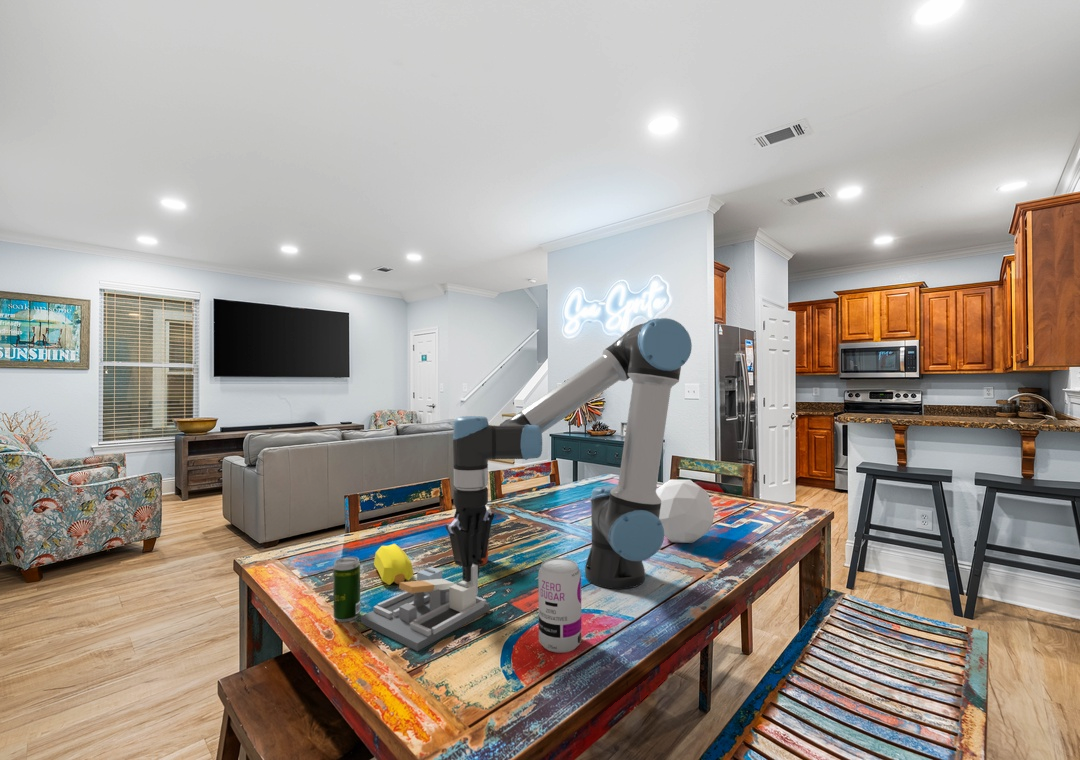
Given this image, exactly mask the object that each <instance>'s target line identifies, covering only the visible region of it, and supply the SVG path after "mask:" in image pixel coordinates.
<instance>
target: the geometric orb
mask: <svg viewBox="0 0 1080 760" xmlns="http://www.w3.org/2000/svg"><path fill="white" fill-rule="evenodd" d="M656 494H657V495H658V497H659V498H660V499H661V508H660V515H659V519H660V521H661V523H662V525H663V528H664V538H666V539H667V540H669V541H670V542H671V543H685V544H686V543H689V544H693V543H694V542H696V541H697V540H699V539H700V538H702V537H703V536H705V535H706V534H707V533H709V532H710V530H711V528H712V525H713V524H714V518H715V509H714V507H713V503H712V501H711V498H710V496H709V495H710V494H709V493H708V491H706V490H705V489H704V488H703V487H701V486H700V485H698V484H697V483H696V482H693V481H692V479H673V478H672V479H669V480H667V481H666V482H664V484H662V485H660V486H659V487H657V488H656Z"/></svg>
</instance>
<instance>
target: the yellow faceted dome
mask: <svg viewBox="0 0 1080 760" xmlns="http://www.w3.org/2000/svg"><path fill="white" fill-rule="evenodd" d="M373 565H374V567H375V568H376V570H377V572H378V574H379V576H380V579H381V581H382V582H383V583H385V584H386V585H387V586H390V585H391V584H393V583H395V584H397V585H399V584H400V582H410V580H411V579H412V578H413V576H414V570H413V564H412V561H411V560H410V558H409V556H408V555H407V553H406V552H405V551H404V550H403V549H402V548H401V547H400V546H398V545H397V544H396V543H392V544H389V545H381V546H380V547H379V548H378V549H377V550H376V551H375V556H374V561H373Z"/></svg>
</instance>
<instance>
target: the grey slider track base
mask: <svg viewBox="0 0 1080 760" xmlns="http://www.w3.org/2000/svg"><path fill="white" fill-rule="evenodd" d="M490 604H491V603H490V602H487V599H485V598H482V597H479V596H478V595H476V604H475V605H473V606H471V607H469V608H468V609H466V610H464V611H462V612H459V611H456V610H454V609H451V608H449V589H445V590H439V589H438V590H436V591H434V592H431V593H430V594H428V595H425V594H424V592H419V593H409V592H406V591H404V592H401V593H400V594H399V593H398V594H396V595H394V596H392V597H390V598H387V599H386V600H383V601H380V602H378V603H377V604H376V605H374V606H373V608H372V611H370V612H367V613H364V614H362V615H360V624H361V625H363V626H365V627H367V628H368V629H369V628H370V629H371V630H373V631H375V632H378V633H380V634H381V635H384V636H386V637H388V638H389V639H392V640H393V641H396V642H398V643H400V644H402V645H404V646H406V647H408V648H410V649H412V650H413V651H416V652H420V651H421V650H422V649H424V648H426V647H428V646H429V645H431V644H433V643H434V642H436V641H439V640H440V639H441V638H443V637H445V636H447V635H449V634H450V633H451V634H452V632H454V631H456V630H457V629H459V628H461V627H462V626H464V625H467V624H468V623H469V622H472V621H474V620H475V619H477V618H478V617H480V616H482V615H483V614H485V613H487V612H490V610H491V609H490V608H491V607H490V606H491V605H490Z"/></svg>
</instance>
